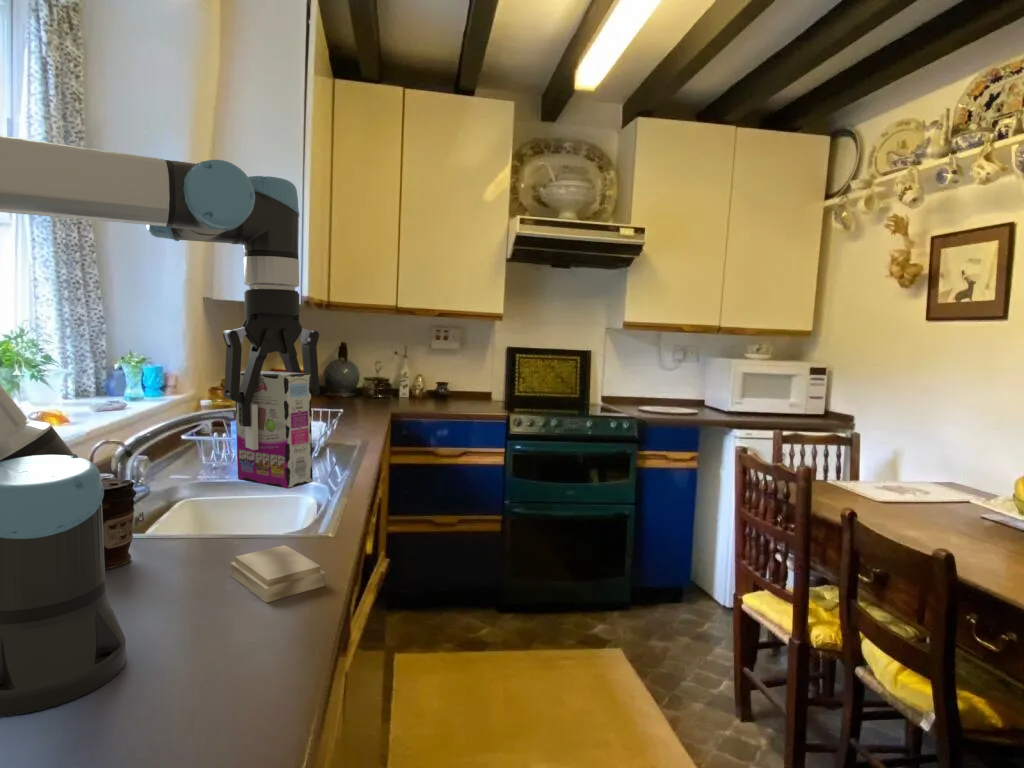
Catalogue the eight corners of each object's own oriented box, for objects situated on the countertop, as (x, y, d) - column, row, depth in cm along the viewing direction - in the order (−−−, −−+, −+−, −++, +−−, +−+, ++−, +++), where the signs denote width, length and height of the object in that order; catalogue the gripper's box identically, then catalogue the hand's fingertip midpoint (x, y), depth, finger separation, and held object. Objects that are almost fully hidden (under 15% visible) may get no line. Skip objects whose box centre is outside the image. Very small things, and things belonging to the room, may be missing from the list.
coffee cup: (152, 555, 107) (149, 478, 106) (116, 574, 99) (113, 491, 98) (103, 552, 108) (100, 476, 107) (63, 571, 100) (60, 489, 98)
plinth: (265, 602, 90) (265, 581, 90) (230, 575, 99) (230, 556, 99) (325, 585, 96) (325, 566, 96) (286, 561, 106) (286, 543, 105)
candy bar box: (315, 482, 96) (312, 372, 94) (288, 490, 92) (285, 375, 90) (263, 473, 101) (260, 369, 100) (236, 479, 97) (232, 371, 95)
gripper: (320, 292, 103) (321, 435, 105) (193, 285, 90) (198, 449, 92) (344, 291, 98) (345, 441, 100) (213, 284, 85) (217, 458, 87)
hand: (274, 445), depth 96 cm, fingers closed on candy bar box, 6 cm apart
